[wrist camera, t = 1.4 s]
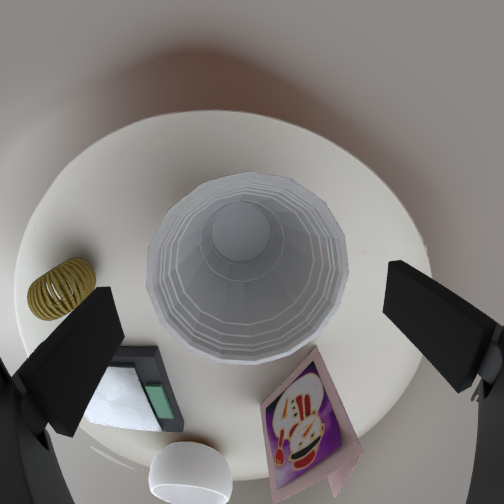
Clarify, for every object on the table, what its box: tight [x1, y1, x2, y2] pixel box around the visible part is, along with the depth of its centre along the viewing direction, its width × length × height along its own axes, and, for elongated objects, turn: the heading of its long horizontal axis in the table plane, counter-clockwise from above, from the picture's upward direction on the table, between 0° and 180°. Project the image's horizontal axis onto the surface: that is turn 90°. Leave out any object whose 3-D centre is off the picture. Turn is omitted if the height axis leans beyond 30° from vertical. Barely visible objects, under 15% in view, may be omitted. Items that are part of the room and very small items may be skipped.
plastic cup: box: [146, 171, 349, 365], centre depth 19 cm, size 11×11×12 cm
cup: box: [149, 441, 232, 504], centre depth 30 cm, size 12×12×10 cm
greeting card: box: [260, 346, 363, 504], centre depth 24 cm, size 11×7×15 cm, turn 147°
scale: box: [84, 346, 184, 432], centre depth 28 cm, size 14×15×3 cm
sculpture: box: [27, 258, 96, 321], centre depth 21 cm, size 8×4×8 cm, turn 111°
